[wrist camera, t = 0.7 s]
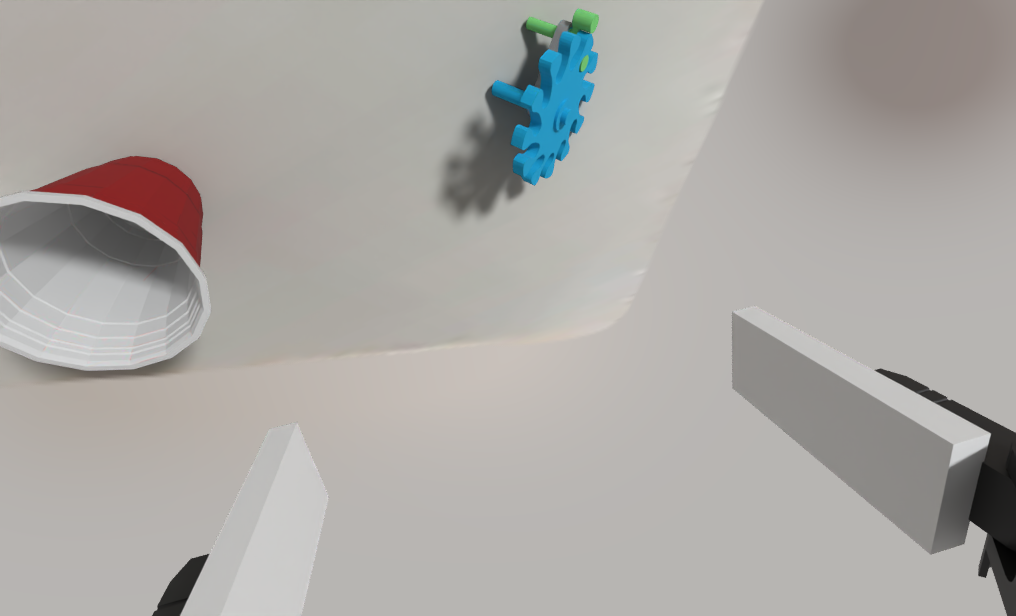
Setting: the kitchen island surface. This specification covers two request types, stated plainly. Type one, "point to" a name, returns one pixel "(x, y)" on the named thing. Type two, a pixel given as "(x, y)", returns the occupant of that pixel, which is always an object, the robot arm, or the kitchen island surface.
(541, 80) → the blue knobby plastic piece
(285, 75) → the kitchen island surface
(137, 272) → the plastic cup
